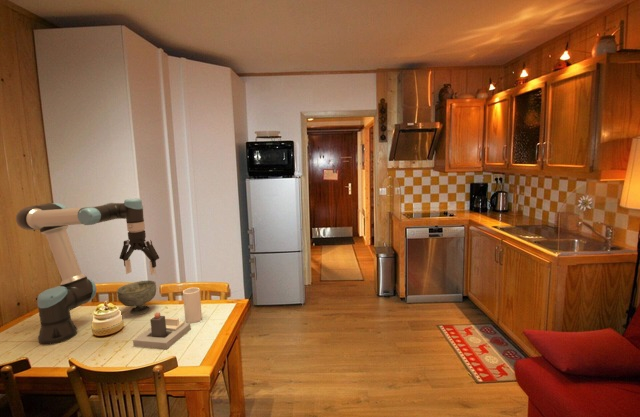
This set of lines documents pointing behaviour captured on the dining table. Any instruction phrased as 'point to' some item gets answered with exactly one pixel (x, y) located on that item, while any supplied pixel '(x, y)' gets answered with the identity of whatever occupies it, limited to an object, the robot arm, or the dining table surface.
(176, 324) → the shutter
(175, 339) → the socket board
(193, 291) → the cup
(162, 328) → the dark grey bottle
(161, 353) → the dining table surface
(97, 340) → the dining table surface
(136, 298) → the bowl
